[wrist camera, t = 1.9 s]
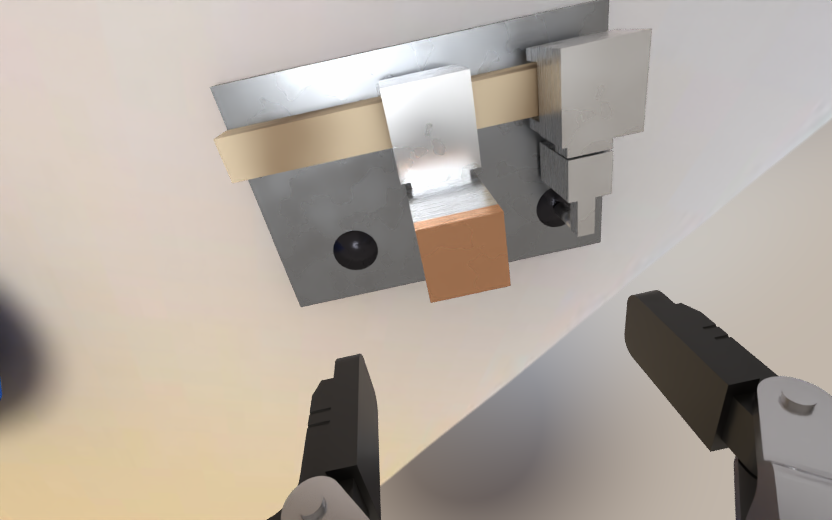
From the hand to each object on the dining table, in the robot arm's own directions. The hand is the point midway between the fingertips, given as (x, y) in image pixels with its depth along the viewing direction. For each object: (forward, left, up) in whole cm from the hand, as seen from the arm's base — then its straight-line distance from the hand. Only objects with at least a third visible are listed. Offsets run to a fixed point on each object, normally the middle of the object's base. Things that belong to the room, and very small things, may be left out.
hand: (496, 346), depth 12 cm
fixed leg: (-8, -1, -15) cm, 18 cm away
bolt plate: (0, 0, -17) cm, 17 cm away
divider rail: (0, -4, -16) cm, 16 cm away
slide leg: (0, -1, -15) cm, 15 cm away
